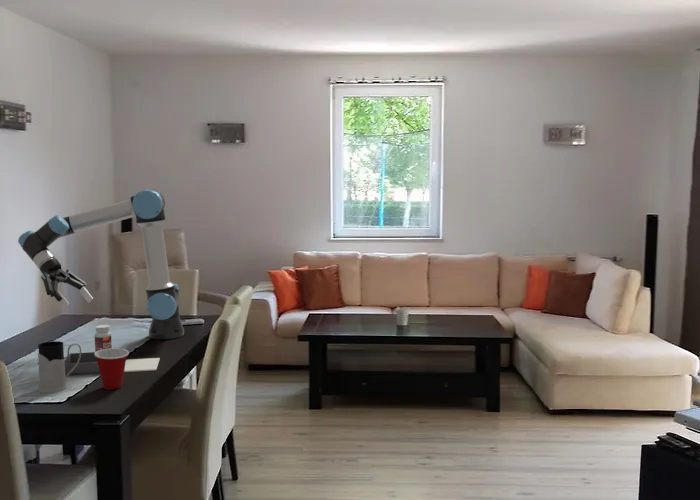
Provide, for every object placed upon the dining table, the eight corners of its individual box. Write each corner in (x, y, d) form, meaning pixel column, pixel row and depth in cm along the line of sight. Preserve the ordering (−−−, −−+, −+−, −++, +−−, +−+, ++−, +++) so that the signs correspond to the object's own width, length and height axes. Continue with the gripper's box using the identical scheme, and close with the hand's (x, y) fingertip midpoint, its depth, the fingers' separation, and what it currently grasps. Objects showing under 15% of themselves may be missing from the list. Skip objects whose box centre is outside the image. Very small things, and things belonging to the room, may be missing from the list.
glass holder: (34, 388, 225) (32, 344, 224) (77, 379, 235) (75, 337, 234) (44, 394, 219) (42, 348, 218) (87, 385, 229) (86, 341, 227)
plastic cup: (110, 394, 219) (108, 357, 218) (88, 388, 225) (87, 353, 223) (137, 385, 228) (136, 350, 227) (115, 380, 234) (114, 346, 233)
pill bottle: (105, 357, 266) (104, 328, 264) (91, 355, 267) (90, 327, 266) (115, 353, 271) (114, 325, 270) (102, 352, 273) (101, 324, 272)
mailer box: (159, 359, 262) (159, 348, 262) (156, 370, 246) (155, 359, 246) (70, 363, 256) (70, 353, 255) (61, 375, 240) (60, 364, 240)
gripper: (64, 266, 287) (95, 304, 284) (18, 273, 264) (50, 315, 260) (74, 254, 285) (105, 292, 282) (28, 260, 261) (61, 302, 258)
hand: (79, 303), depth 271 cm, fingers open, 13 cm apart
